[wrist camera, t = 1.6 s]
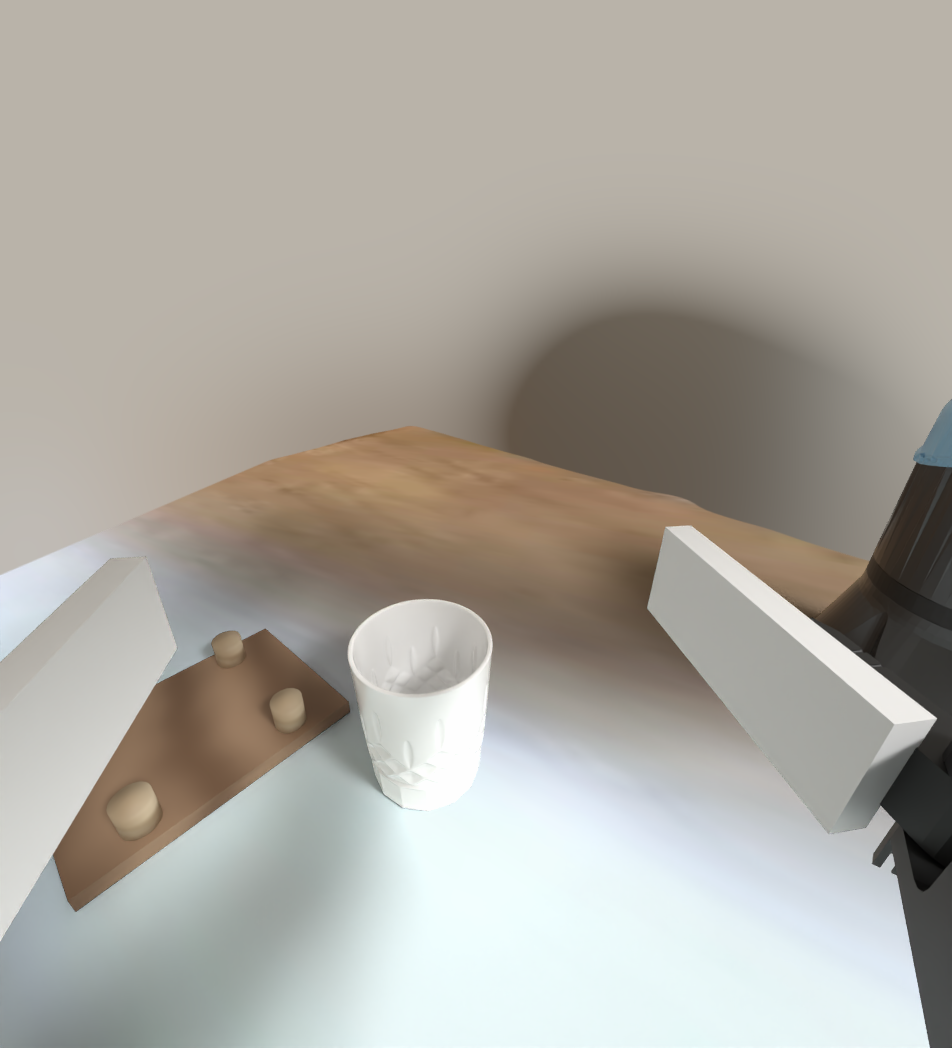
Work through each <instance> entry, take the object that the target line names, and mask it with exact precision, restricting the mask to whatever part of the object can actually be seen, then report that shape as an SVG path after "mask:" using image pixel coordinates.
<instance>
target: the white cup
mask: <svg viewBox="0 0 952 1048" xmlns="http://www.w3.org/2000/svg"><path fill="white" fill-rule="evenodd" d="M492 646H493V643H492V636H491V633H490V630H489V628H488V626H487V625H486V623H485V622H484V621H483V620H482V619H481V618H480V617H479V616H478V615H477V614H476V613H474V612H473V611H471V610H470V609H468V608H466V607H464V606H462V605H459V604H456V603H453V602H449V601H444V600H436V599H417V600H409V601H404V602H400V603H396V604H393V605H390V606H388V607H385V608H383V609H381V610H379V611H377V612H376V613H374V614H372V615H371V616H370V617H368V618H367V619H366V620H365V621H363V622H362V623H361V624H360V625H359V627H358V628H357V629H356V630H355V632H354V633H353V635H352V637H351V639H350V642H349V646H348V661H349V666H350V671H351V675H352V680H353V684H354V689H355V694H356V699H357V704H358V708H359V713H360V718H361V723H362V727H363V731H364V734H365V739H366V743H367V747H368V750H369V754H370V756H371V758H372V763H373V769H374V773H375V776H376V778H377V780H378V782H379V785H380V787H381V789H382V791H383V794H384V795H386V796H387V797H388V798H390V799H391V800H393V801H394V802H395V803H397V804H398V805H400V806H401V807H402V808H407V809H414V810H422V811H431V810H434V809H437V808H440V807H443V806H446V805H449V804H452V803H454V802H455V801H456V800H457V799H458V798H459V797H460V796H461V795H462V794H463V793H465V792H466V791H467V790H468V789H469V788H470V787H471V786H472V783H473V781H474V778H475V775H476V773H477V770H478V768H479V765H480V755H481V744H482V740H483V734H484V728H485V717H486V711H487V701H488V690H489V678H490V667H491V657H492Z"/></svg>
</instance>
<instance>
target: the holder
mask: <svg viewBox="0 0 952 1048" xmlns="http://www.w3.org/2000/svg"><path fill="white" fill-rule="evenodd" d="M211 644H212V647H213V650H214V653H215V655H213V656H211V657H209V658H207V659H205V660H203V661H201V662H199V663H197V664H195V665H193V666H191V667H189V668H187V669H185V670H183V671H181V672H179V673H177V674H175V675H173V676H171V677H169V678H167V679H165V680H163V681H162V682H160V683H158V684H156V685H155V686H154V688H153V689H152V691H151V693H150V694H149V696H148V698H147V699H146V701H145V703H144V704H143V706H142V708H141V709H140V711H139V713H138V714H137V716H136V718H135V719H134V721H133V723H132V724H131V726H130V727H129V729H128V731H127V732H126V734H125V736H124V737H123V739H122V741H121V742H120V744H119V746H118V747H117V749H116V751H115V752H114V754H113V756H112V757H111V759H110V761H109V762H108V764H107V766H106V767H105V769H104V771H103V772H102V774H101V775H100V777H99V779H98V780H97V782H96V784H95V785H94V787H93V789H92V790H91V792H90V794H89V795H88V797H87V799H86V800H85V802H84V804H83V805H82V807H81V809H80V810H79V812H78V814H77V815H76V817H75V819H74V820H73V822H72V823H71V825H70V827H69V828H68V830H67V832H66V833H65V835H64V837H63V838H62V840H61V842H60V843H59V845H58V847H57V848H56V850H55V852H54V853H53V856H54V859H55V862H56V866H57V869H58V872H59V875H60V878H61V881H62V884H63V888H64V891H65V894H66V897H67V900H68V902H69V903H70V905H71V906H72V907H73V909H74V910H75V911H78V910H79V909H80V908H82V907H83V906H84V905H86V904H87V903H89V902H90V901H91V900H93V899H94V898H95V897H97V896H98V895H100V894H101V893H102V892H104V891H105V890H106V889H108V888H109V887H110V886H112V885H113V884H115V883H116V882H117V881H119V880H120V879H121V878H123V877H124V876H126V875H127V874H128V873H130V872H131V871H132V870H134V869H135V868H137V867H138V866H139V865H141V864H142V863H143V862H145V861H146V860H147V859H149V858H150V857H152V856H153V855H154V854H156V853H157V852H158V851H160V850H161V849H163V848H164V847H165V846H167V845H168V844H169V843H171V842H172V841H174V840H175V839H176V838H178V837H179V836H180V835H182V834H183V833H184V832H186V831H187V830H189V829H190V828H191V827H193V826H194V825H195V824H197V823H198V822H200V821H201V820H202V819H204V818H205V817H206V816H208V815H209V814H211V813H212V812H213V811H215V810H216V809H217V808H219V807H220V806H222V805H223V804H224V803H226V802H227V801H228V800H230V799H231V798H232V797H234V796H235V795H237V794H238V793H239V792H241V791H242V790H243V789H245V788H246V787H248V786H249V785H250V784H252V783H253V782H254V781H256V780H257V779H259V778H260V777H261V776H263V775H264V774H265V773H267V772H268V771H269V770H271V769H272V768H274V767H275V766H276V765H278V764H279V763H280V762H282V761H283V760H285V759H286V758H287V757H289V756H290V755H291V754H293V753H294V752H296V751H297V750H298V749H300V748H301V747H302V746H304V745H305V744H307V743H308V742H309V741H311V740H312V739H313V738H315V737H316V736H317V735H319V734H320V733H322V732H323V731H324V730H326V729H327V728H328V727H330V726H331V725H333V724H334V723H335V722H337V721H338V720H339V719H341V718H342V717H344V716H345V715H346V714H348V713H349V712H350V707H349V702H348V701H347V700H346V699H345V698H344V697H343V696H342V695H340V694H339V693H338V692H337V691H336V690H335V689H334V688H332V687H331V686H330V685H329V684H328V683H327V682H326V681H324V680H323V679H322V678H321V677H320V676H319V675H318V674H317V673H315V672H314V671H313V670H312V669H311V668H310V667H309V666H307V665H306V664H305V663H304V662H303V661H302V660H301V659H299V658H298V657H297V656H296V655H295V654H294V653H293V652H292V651H290V650H289V649H288V648H287V647H286V646H285V645H284V644H282V643H281V642H280V641H279V640H278V639H277V638H276V637H274V636H273V635H272V634H271V633H270V632H269V631H268V630H266V629H264V630H262V631H260V632H258V633H256V634H254V635H252V636H250V637H248V638H246V639H244V640H241V636H240V634H239V633H238V632H236V631H227V632H223V633H221V634H219V635H217V636H216V637H215V638H214V639H213V640H212V643H211Z"/></svg>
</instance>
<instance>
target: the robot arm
mask: <svg viewBox="0 0 952 1048" xmlns="http://www.w3.org/2000/svg"><path fill="white" fill-rule="evenodd" d="M913 460H914V461H916V465H915V467H914V469H913V471H912V473H911V475H910V477H909V480H908V481H907V483H906V486H905V488H904V490H903V492H902V494H901V496H900V498H899V500H898V502H897V505H896V506H895V509H894V511H893V513H892V515H891V517H890V519H889V521H888V523H887V525H886V527H885V529H884V531H883V534H882V536H881V538H880V540H879V542H878V544H877V546H876V548H875V551H874V553H873V555H872V557H871V560H870V562H869V564H868V566H867V568H866V570H865V572H864V573H863V575H862V576H861V577H860V578H859V579H858V580H857V581H856V582H854V583H853V584H852V585H851V586H850V587H849V588H848V589H847V590H846V591H845V592H844V593H842V594H841V595H840V596H839V597H838V598H837V599H836V600H835V601H834V602H833V603H832V604H830V605H829V606H828V607H827V608H826V609H825V610H824V611H823V612H822V613H821V614H819V615H818V616H817V617H816V619H814V618H808V617H807V616H806V615H804V614H803V613H802V612H801V611H799V610H798V609H797V608H795V607H794V606H793V605H792V604H790V603H789V602H788V601H787V600H785V599H784V598H783V597H781V596H780V595H779V594H778V593H776V592H775V591H774V590H772V589H771V588H770V587H769V586H767V585H766V584H765V583H764V582H762V581H761V580H760V579H758V578H757V577H756V576H755V575H753V574H752V573H751V572H750V571H748V570H747V569H746V568H744V567H743V566H742V565H741V564H739V563H738V562H737V561H735V560H734V559H733V558H732V557H730V556H729V555H728V554H727V553H725V552H724V551H723V550H721V549H720V548H719V547H718V546H716V545H715V544H714V543H713V542H711V541H710V540H709V539H707V538H706V537H705V536H704V535H702V534H701V533H700V532H698V531H697V530H696V529H695V528H693V527H692V526H674V527H665V531H664V536H663V540H662V545H661V549H660V554H659V558H658V562H657V567H656V571H655V576H654V580H653V584H652V589H651V593H650V598H649V602H648V606H647V609H648V610H649V611H650V612H651V614H652V615H653V616H654V617H655V619H656V620H657V621H658V622H659V624H660V625H661V626H662V627H663V629H664V630H665V631H666V632H667V634H668V635H669V636H670V637H671V639H672V640H673V641H674V642H675V644H676V645H677V646H678V647H679V649H680V650H681V651H682V652H683V654H684V655H685V656H686V657H687V658H688V660H689V661H690V662H691V663H692V665H693V666H694V667H695V668H696V670H697V671H698V672H699V673H700V675H701V676H702V677H703V678H704V680H705V681H706V682H707V683H708V685H709V686H710V687H711V688H712V690H713V691H714V692H715V693H716V695H717V696H718V697H719V698H720V700H721V701H722V702H723V703H724V705H725V706H726V707H727V708H728V709H729V711H730V712H731V713H732V714H733V716H734V717H735V718H736V719H737V721H738V722H739V723H740V724H741V726H742V727H743V728H744V729H745V731H746V732H747V733H748V734H749V736H750V737H751V738H752V739H753V741H754V742H755V743H756V744H757V746H758V747H759V748H760V749H761V751H762V752H763V753H764V754H765V755H766V757H767V758H768V759H769V760H770V762H771V763H772V764H773V765H774V767H775V768H776V769H777V770H778V772H779V773H780V774H781V775H782V777H783V778H784V779H785V780H786V782H787V783H788V784H789V785H790V787H791V788H792V789H793V790H794V792H795V793H796V794H797V795H798V797H799V798H800V799H801V800H802V802H803V803H804V804H805V805H806V806H807V808H808V809H809V810H810V811H811V813H812V814H813V815H814V816H815V818H816V819H817V820H818V821H819V823H820V824H821V825H822V826H823V828H824V829H825V830H826V831H827V833H828V834H833V833H839V832H844V831H850V830H856V829H862V828H866V827H867V826H868V824H869V822H870V821H871V819H872V818H873V816H874V815H875V813H876V812H877V810H878V809H879V807H880V806H882V807H883V808H884V809H885V810H886V811H887V812H888V814H889V815H890V816H891V817H892V818H893V819H894V820H895V821H896V822H895V823H894V825H893V826H892V827H891V829H890V830H889V832H888V833H887V835H886V836H885V838H884V839H883V840H882V842H881V843H880V845H879V846H878V848H877V849H876V851H875V852H874V854H873V862H872V864H874V865H876V866H878V867H881V866H882V864H883V863H884V861H885V860H886V859H887V857H888V856H889V854H890V853H892V854H893V857H894V862H895V867H894V868H893V869H892V871H891V873H893V874H895V875H897V878H898V883H899V888H900V893H901V899H902V904H903V909H904V914H905V919H906V925H907V930H908V935H909V940H910V946H911V951H912V956H913V961H914V966H915V972H916V977H917V982H918V987H919V993H920V998H921V1003H922V1008H923V1013H924V1019H925V1024H926V1029H927V1034H928V1040H929V1045H930V1048H952V399H951V400H950V401H949V402H948V403H947V404H946V405H945V407H944V408H943V409H942V411H941V413H940V415H939V417H938V418H937V420H936V422H935V424H934V426H933V428H932V430H931V431H930V433H929V435H928V437H927V439H926V441H925V443H924V445H923V446H922V447H920V448H919V449H918V450H917V451H916V452H915V455H914V458H913ZM176 650H177V645H176V643H175V640H174V637H173V634H172V631H171V628H170V625H169V622H168V619H167V616H166V613H165V610H164V607H163V604H162V601H161V598H160V596H159V593H158V590H157V587H156V584H155V581H154V578H153V575H152V572H151V569H150V566H149V563H148V560H147V557H130V558H113V559H109V560H108V561H107V562H106V563H105V564H104V565H103V566H102V567H101V568H100V569H99V570H97V571H96V572H95V573H94V574H93V575H92V576H91V577H90V578H89V579H88V580H87V581H86V582H85V583H84V584H83V585H82V586H80V587H79V588H78V589H77V590H76V591H75V592H74V593H73V594H72V595H71V596H70V597H69V598H68V599H67V600H66V601H65V602H64V603H62V604H61V605H60V606H59V607H58V608H57V609H56V610H55V611H54V612H53V613H52V614H51V615H50V616H49V617H48V618H47V619H46V620H44V621H43V622H42V623H41V624H40V625H39V626H38V627H37V628H36V629H35V630H34V631H33V632H32V633H31V634H30V635H29V636H28V637H26V638H25V639H24V640H23V641H22V642H21V643H20V644H19V645H18V646H17V647H16V648H15V649H14V650H13V651H12V652H11V653H9V654H8V655H7V656H6V657H5V658H4V659H3V660H2V661H1V662H0V941H1V939H2V938H3V936H4V934H5V933H6V931H7V929H8V928H9V926H10V924H11V923H12V921H13V919H14V918H15V916H16V914H17V913H18V911H19V910H20V908H21V906H22V905H23V903H24V901H25V900H26V898H27V896H28V895H29V893H30V891H31V890H32V888H33V886H34V885H35V883H36V881H37V880H38V878H39V876H40V875H41V873H42V871H43V870H44V868H45V867H46V865H47V863H48V862H49V860H50V858H51V857H52V855H53V853H54V852H55V850H56V848H57V847H58V845H59V843H60V842H61V840H62V838H63V837H64V835H65V833H66V832H67V830H68V828H69V827H70V825H71V823H72V822H73V820H74V819H75V817H76V815H77V814H78V812H79V810H80V809H81V807H82V805H83V804H84V802H85V800H86V799H87V797H88V795H89V794H90V792H91V790H92V789H93V787H94V785H95V784H96V782H97V780H98V779H99V777H100V775H101V774H102V772H103V771H104V769H105V767H106V766H107V764H108V762H109V761H110V759H111V757H112V756H113V754H114V752H115V751H116V749H117V747H118V746H119V744H120V742H121V741H122V739H123V737H124V736H125V734H126V732H127V731H128V729H129V727H130V726H131V724H132V723H133V721H134V719H135V718H136V716H137V714H138V713H139V711H140V709H141V708H142V706H143V704H144V703H145V701H146V699H147V698H148V696H149V694H150V693H151V691H152V689H153V688H154V686H155V684H156V683H157V681H158V679H159V678H160V676H161V675H162V673H163V671H164V670H165V668H166V666H167V665H168V663H169V661H170V660H171V658H172V656H173V655H174V653H175V651H176Z"/></svg>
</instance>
